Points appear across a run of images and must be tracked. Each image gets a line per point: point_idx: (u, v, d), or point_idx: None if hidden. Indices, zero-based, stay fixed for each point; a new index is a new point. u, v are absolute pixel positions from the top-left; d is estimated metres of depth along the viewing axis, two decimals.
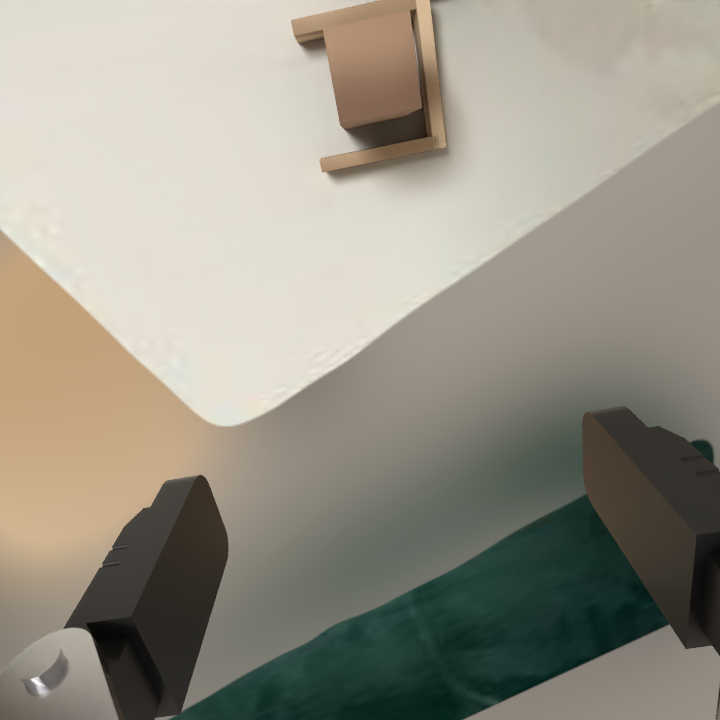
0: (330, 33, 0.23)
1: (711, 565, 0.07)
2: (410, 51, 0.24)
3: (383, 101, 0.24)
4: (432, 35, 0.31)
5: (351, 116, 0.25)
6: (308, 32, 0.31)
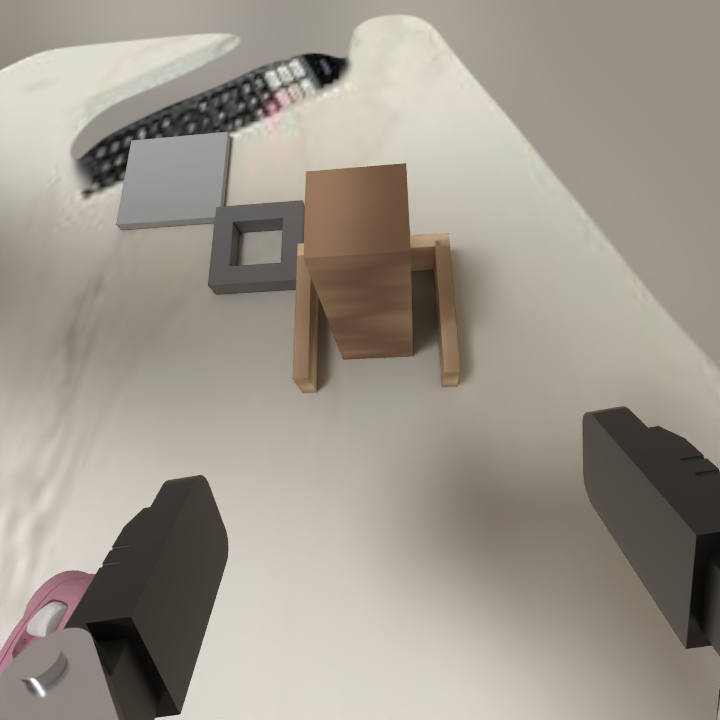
0: (309, 250, 0.19)
1: (710, 564, 0.07)
2: (345, 172, 0.20)
3: (392, 201, 0.20)
4: None
5: (403, 238, 0.19)
6: (308, 362, 0.27)
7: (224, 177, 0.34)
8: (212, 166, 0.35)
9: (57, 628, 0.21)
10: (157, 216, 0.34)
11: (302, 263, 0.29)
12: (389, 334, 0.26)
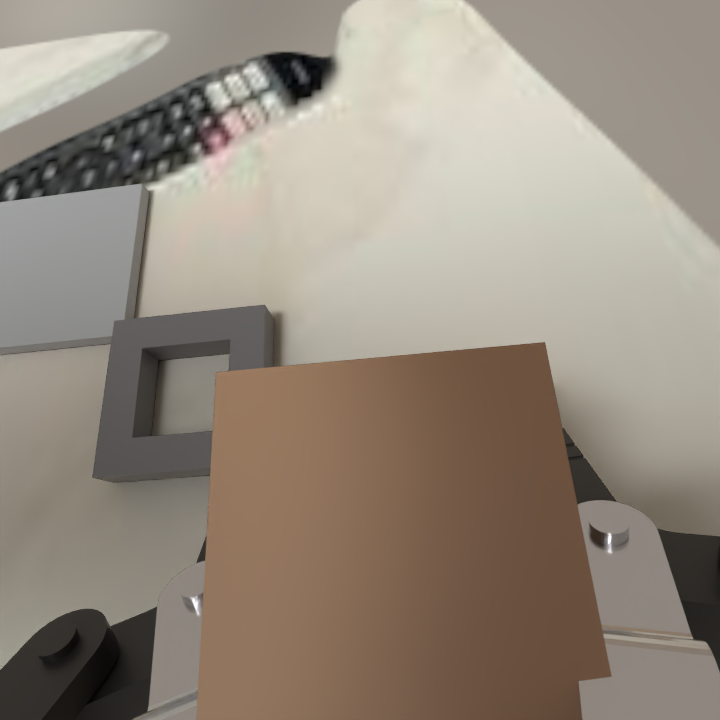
0: None
1: None
2: (343, 376, 0.06)
3: (515, 500, 0.05)
4: None
5: None
6: None
7: (134, 261, 0.20)
8: (114, 244, 0.21)
9: None
10: (19, 336, 0.20)
11: None
12: None
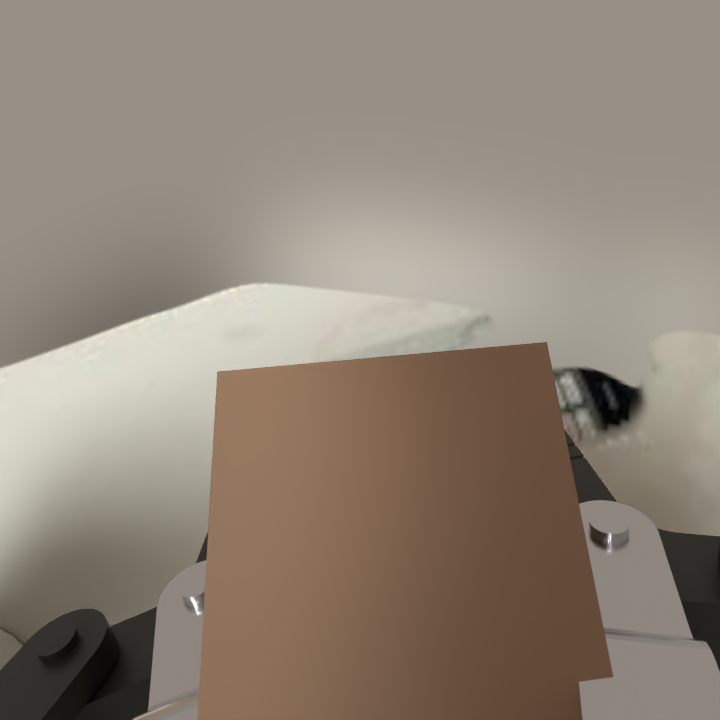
0: None
1: None
2: (344, 376, 0.06)
3: (519, 502, 0.05)
4: None
5: None
6: None
7: None
8: None
9: None
10: None
11: None
12: None
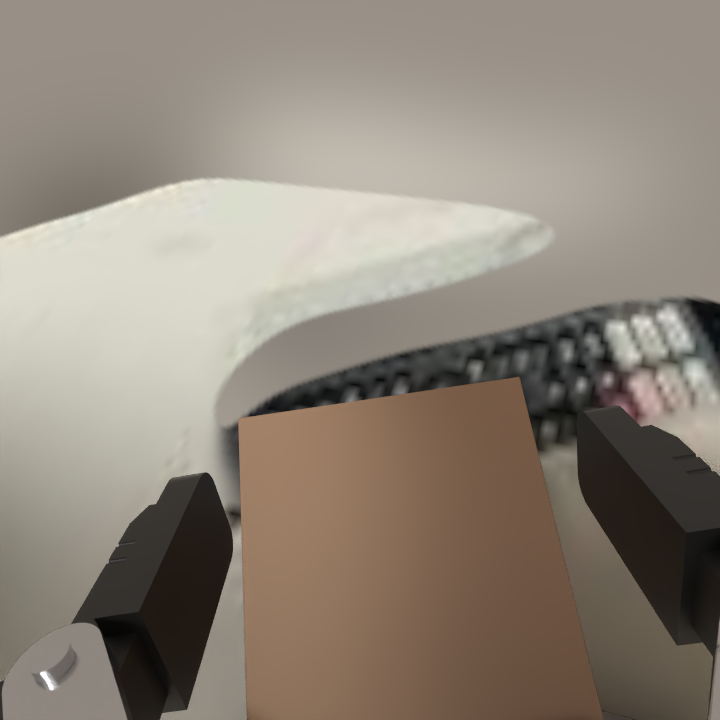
0: (265, 719, 0.06)
1: (700, 562, 0.07)
2: (349, 416, 0.07)
3: (502, 515, 0.06)
4: None
5: (566, 662, 0.06)
6: None
7: None
8: None
9: None
10: None
11: None
12: None
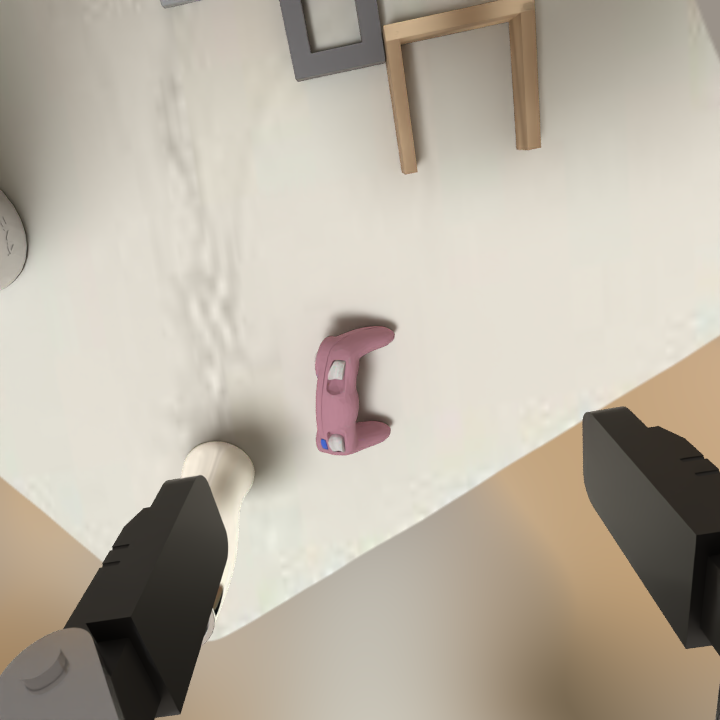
0: None
1: (710, 564, 0.07)
2: None
3: None
4: (423, 18, 0.29)
5: None
6: (415, 157, 0.32)
7: None
8: None
9: (344, 374, 0.35)
10: None
11: (392, 50, 0.30)
12: None
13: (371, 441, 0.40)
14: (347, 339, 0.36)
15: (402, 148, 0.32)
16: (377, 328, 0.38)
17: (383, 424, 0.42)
